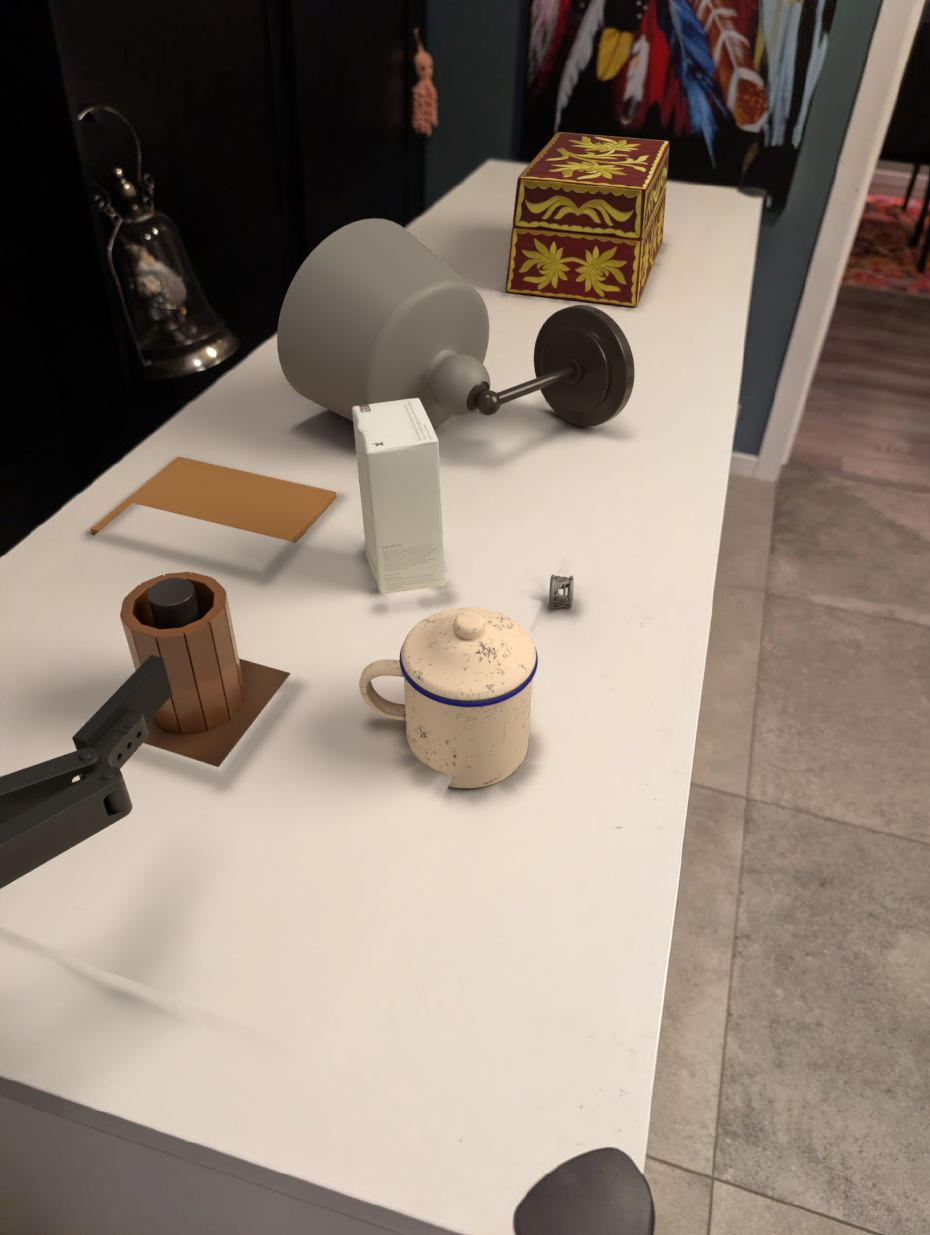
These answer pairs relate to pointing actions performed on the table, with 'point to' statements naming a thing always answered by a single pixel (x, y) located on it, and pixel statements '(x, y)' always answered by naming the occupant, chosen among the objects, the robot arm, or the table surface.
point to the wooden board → (230, 499)
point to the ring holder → (180, 608)
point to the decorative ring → (563, 583)
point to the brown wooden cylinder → (189, 656)
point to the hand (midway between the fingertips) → (60, 644)
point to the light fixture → (430, 336)
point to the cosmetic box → (400, 494)
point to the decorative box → (589, 219)
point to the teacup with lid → (463, 693)
